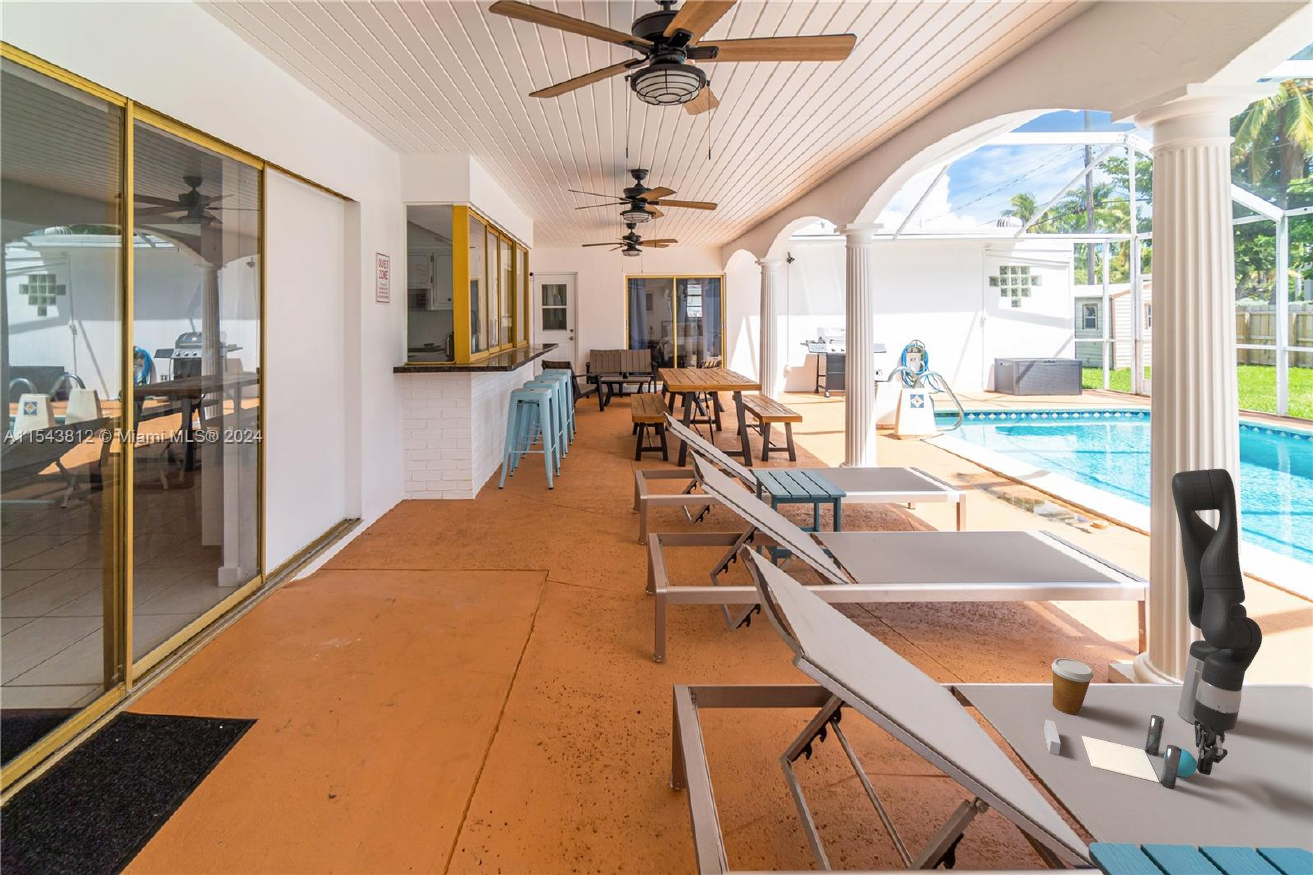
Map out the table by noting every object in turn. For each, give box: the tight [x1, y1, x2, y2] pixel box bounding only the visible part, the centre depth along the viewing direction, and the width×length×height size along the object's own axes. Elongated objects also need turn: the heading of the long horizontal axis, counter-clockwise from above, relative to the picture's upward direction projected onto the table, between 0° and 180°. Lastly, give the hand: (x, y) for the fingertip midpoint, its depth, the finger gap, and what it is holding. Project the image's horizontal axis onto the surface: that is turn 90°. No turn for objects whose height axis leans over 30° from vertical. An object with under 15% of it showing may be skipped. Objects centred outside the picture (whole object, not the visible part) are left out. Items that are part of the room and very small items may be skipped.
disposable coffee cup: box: [1051, 657, 1094, 715], centre depth 183 cm, size 10×10×12 cm
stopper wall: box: [1043, 719, 1062, 756], centre depth 168 cm, size 10×2×3 cm, turn 157°
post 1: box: [1144, 714, 1165, 757], centre depth 165 cm, size 3×3×9 cm
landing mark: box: [1081, 735, 1160, 784], centre depth 163 cm, size 13×13×1 cm
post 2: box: [1159, 744, 1182, 790], centre depth 153 cm, size 3×3×9 cm
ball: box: [1163, 747, 1198, 778], centre depth 157 cm, size 6×6×6 cm
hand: (1203, 772), depth 156 cm, fingers closed
